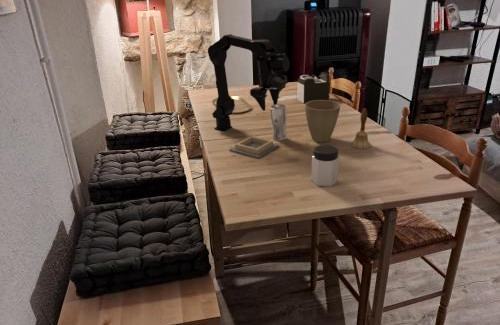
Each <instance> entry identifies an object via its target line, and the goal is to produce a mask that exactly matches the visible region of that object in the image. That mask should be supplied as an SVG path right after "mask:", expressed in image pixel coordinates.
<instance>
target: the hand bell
mask: <svg viewBox="0 0 500 325" xmlns="http://www.w3.org/2000/svg"><path fill="white" fill-rule="evenodd" d="M367 119H368V111H367V108H365V107H364V108H363V109H362V111H361V113H360V123H361V124H360V130H359V131H357V132H356V134H355V138H354V140H353V141H351V143H350V145H351V147H353V148H355V149H359V150H361V149H363V150H366V149H370V148H371V147H372V144H371V143H370V141H369V139H368V133H367V132H366V131H365V129H366V122H367Z"/></svg>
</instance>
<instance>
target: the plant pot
mask: <svg viewBox="0 0 500 325" xmlns="http://www.w3.org/2000/svg"><path fill="white" fill-rule="evenodd" d="M341 107H342V106H341V103H340V102H337V101H334V100H330V99H329V100H314V101H309V102H307V103H304V109H305V117H306V123H307V127H308V130H309V134H310V136H311V140H312V141H313V142H316V143H320V144H321V143H328V142H329V141H330V140H331V137H332V136H333V133H334V131H335V128H336V125H337V122H338V119H339V115H340V111H341Z"/></svg>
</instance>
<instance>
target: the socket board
mask: <svg viewBox="0 0 500 325" xmlns="http://www.w3.org/2000/svg"><path fill="white" fill-rule="evenodd" d="M278 147H280V144H277V143H274V140H270V139H265V138H262V137H257V136H252V135H251V136H249V137H247V138H245V139H242V140H240V141H239V142H237V143H235V144H234V146H233V147H231V148H229V152H232V153H235V154H240V155H243V156H247V157H250V158H254V159H261V158H262V157H264V156H266V155H268V154H269V153H271V152H272V151H274V150H276V149H277V148H278Z"/></svg>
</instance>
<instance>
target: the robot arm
mask: <svg viewBox="0 0 500 325" xmlns="http://www.w3.org/2000/svg"><path fill="white" fill-rule="evenodd" d="M231 47H236V48H240V49H244V50H248V51H250V52H251V53H252V54H254V55H256V56H255V58H253V62H257V64H258V72H259V74H257V78H259V82H260V84H258V87H257V86H256V87H253V88H251V89H250V90H249V94H250V97H251V98H254V99H255V101H256V103H257V104H258V105H259V107H260V109H261V110H262V111H263V112H264V111H266V98H267V97H268V94H267V92H268V91H269V94H270V98H272V100H273V102H272V103H273V105H275V104H278V102H279V101H278V97H280V93H281V92H282V90H284V89H286V84H288V83H289V82H288V77H287V75H282V76H281V77H280V76H279V77H278V76H277V74H276V73H275V72H288V71H289V69H290V65H291V63H290V59H289V58H288V56H287V54H286V53H279V52H278V51H277V49H276V48H275V47H274V46H273V43H272V41H271V40H269V39H251V38H246V37H243V36H237V35H234V34H232V33H230V34H224V35H223V36H222V37H221V38H220V39H218V40H217V41H215V42H214V43H213V44H210V45H209V47H208V48H207V54H208V59H209V61H210V63H211V64H212V65H213V68H214V69H213V70H214V75H215V82H216V87H217V95H218V96H217V98H218V99H217V101H216V102H215V104H216V106H215V108H216V109H215V110H214V111H213V112H212V113H211V115H212V118H214V119H215V125H216V127H214V129H213V130H217V131H221V132H225V131H228V130H231V129H233V126H232V124H231V117H230V116H232V115H233V114H232V112H234V110H235V107H236V104H235V99H234V98H231V97H230V94H229V93H230V92H229V88H228V87H229V86H228V81H227V80H228V79H227V72H226V61H227V57H228V51H229V50H230V49H231Z"/></svg>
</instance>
